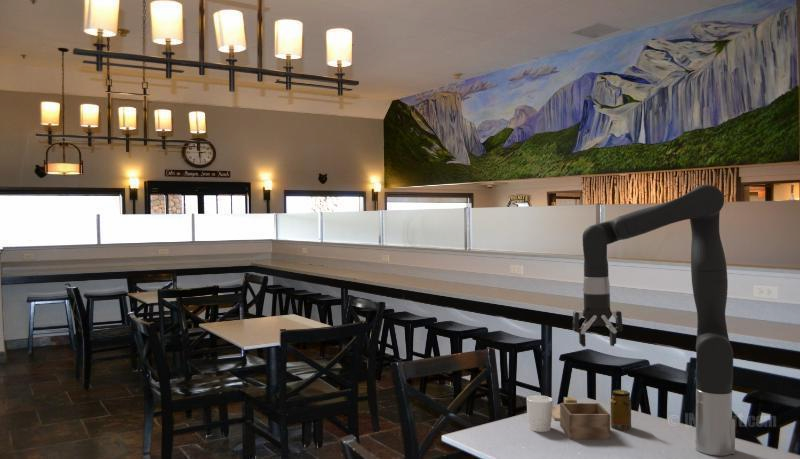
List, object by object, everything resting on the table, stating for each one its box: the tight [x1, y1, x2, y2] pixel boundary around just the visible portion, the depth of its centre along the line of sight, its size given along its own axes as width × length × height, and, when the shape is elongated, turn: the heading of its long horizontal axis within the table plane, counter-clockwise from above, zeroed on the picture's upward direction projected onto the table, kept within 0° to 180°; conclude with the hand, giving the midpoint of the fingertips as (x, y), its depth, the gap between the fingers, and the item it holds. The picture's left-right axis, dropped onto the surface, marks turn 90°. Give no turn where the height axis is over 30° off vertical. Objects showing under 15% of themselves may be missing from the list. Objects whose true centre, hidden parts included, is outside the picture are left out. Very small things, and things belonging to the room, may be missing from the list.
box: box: [559, 402, 611, 440], centre depth 198 cm, size 12×12×8 cm
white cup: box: [526, 394, 553, 433], centre depth 202 cm, size 8×8×10 cm
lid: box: [552, 396, 578, 422], centre depth 216 cm, size 13×13×6 cm
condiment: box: [610, 389, 632, 431], centre depth 202 cm, size 7×8×12 cm
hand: (597, 345), depth 194 cm, fingers open, 8 cm apart
